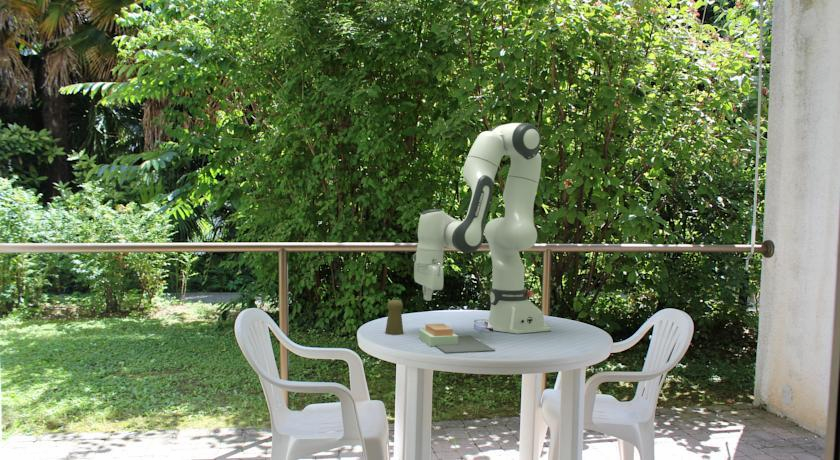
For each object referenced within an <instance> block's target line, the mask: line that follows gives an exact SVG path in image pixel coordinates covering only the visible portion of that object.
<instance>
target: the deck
mask: <svg viewBox="0 0 840 460" xmlns="http://www.w3.org/2000/svg"><path fill="white" fill-rule="evenodd" d="M458 336H459V335H457V334H456V333H454V332H453V335H452V336H433V335H432V334H430V333H429V332H427V331H426V328H420V329H418V339H419V340H421V341H422V342H423V343H425V344H426V345H428V346H429V347H435V345H451V344H458ZM435 348H436V347H435Z"/></svg>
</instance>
